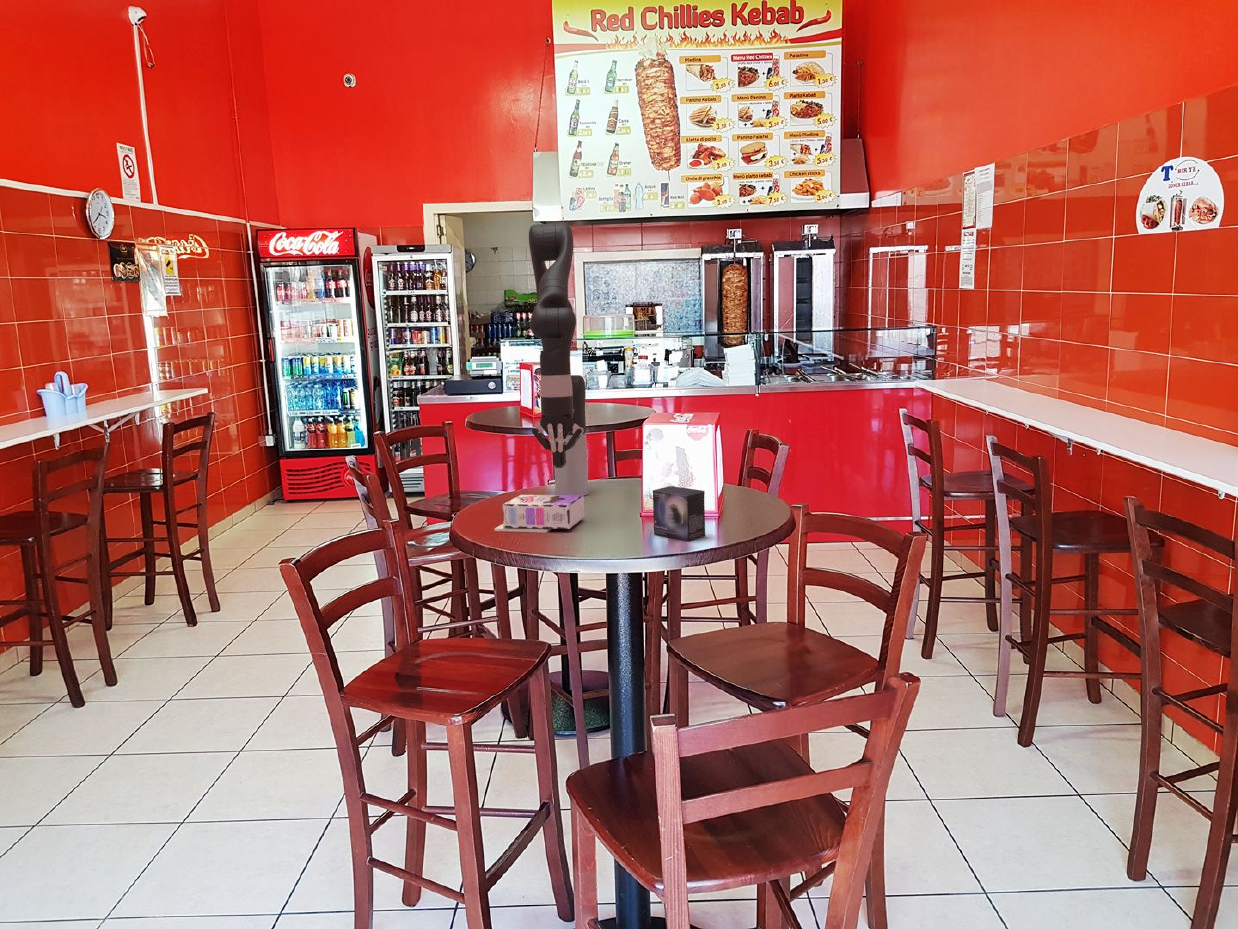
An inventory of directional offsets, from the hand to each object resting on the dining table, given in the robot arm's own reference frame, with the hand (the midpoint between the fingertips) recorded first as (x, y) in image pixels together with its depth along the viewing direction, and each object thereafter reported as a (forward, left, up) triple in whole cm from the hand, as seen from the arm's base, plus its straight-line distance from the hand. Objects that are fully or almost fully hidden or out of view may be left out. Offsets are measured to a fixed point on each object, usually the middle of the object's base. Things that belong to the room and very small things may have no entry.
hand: (559, 467), depth 227 cm
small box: (+7, +30, -14) cm, 34 cm away
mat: (0, -8, -14) cm, 16 cm away
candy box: (0, +4, -10) cm, 11 cm away
